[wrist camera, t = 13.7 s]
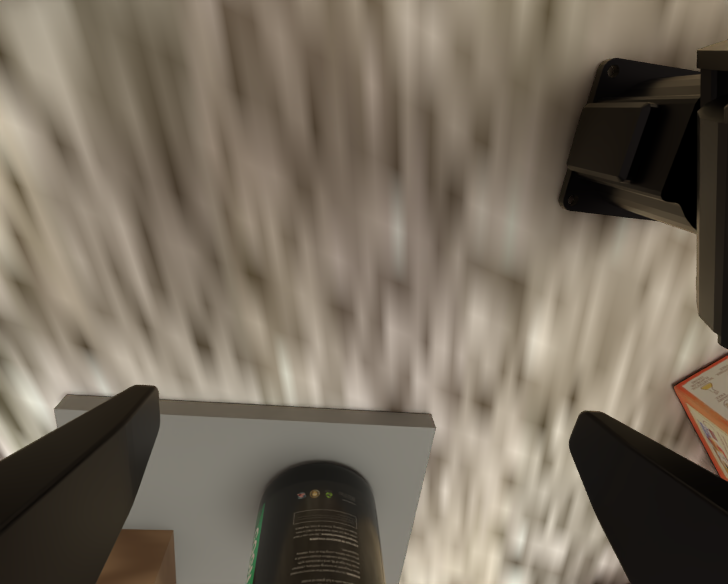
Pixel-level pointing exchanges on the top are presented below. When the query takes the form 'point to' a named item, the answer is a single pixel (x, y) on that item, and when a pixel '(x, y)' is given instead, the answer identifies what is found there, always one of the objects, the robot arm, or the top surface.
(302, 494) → the supplement bottle
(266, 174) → the top surface
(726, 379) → the cracker box
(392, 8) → the top surface
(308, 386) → the top surface
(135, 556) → the walnut block
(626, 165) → the robot arm
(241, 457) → the gray board
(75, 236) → the top surface
